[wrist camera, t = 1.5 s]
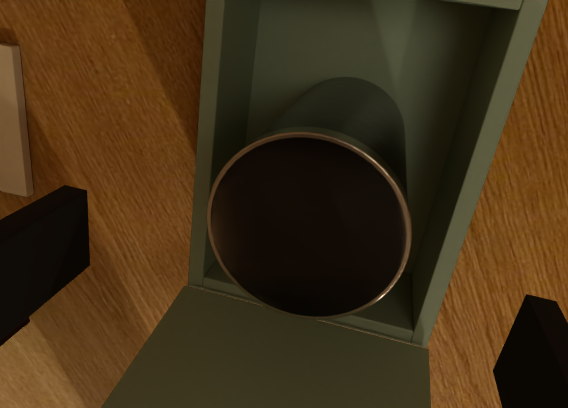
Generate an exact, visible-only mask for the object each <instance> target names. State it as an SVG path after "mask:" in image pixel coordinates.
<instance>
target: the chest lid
mask: <svg viewBox="0 0 568 408" xmlns="http://www.w3.org/2000/svg"><path fill="white" fill-rule="evenodd" d="M101 408H431V397H430V372H429V350H428V349H424V348H421V347H417V346H413V345H409V344H405V343H402V342H398V341H394V340H390V339H386V338H383V337H379V336H375V335H371V334H367V333H363V332H360V331H356V330H352V329H348V328H344V327H341V326H337V325H333V324H329V323H325V322H322V321H318V320H312V319H302V318H297V317H292V316H288V315H285V314H282V313H279V312H276V311H274V310H272V309H269V308H267V307H264V306H261V305H257V304H253V303H249V302H245V301H241V300H238V299H234V298H230V297H226V296H222V295H219V294H215V293H211V292H207V291H203V290H199V289H196V288H192V287H188V286H184V287H183V288H182V290H181V291H180V293H179V294H178V296H177V297H176V299H175V300H174V302H173V303H172V305H171V306H170V308H169V309H168V310H167V312H166V313H165V315H164V316H163V318H162V319H161V321H160V322H159V324H158V325H157V327H156V328H155V330H154V331H153V333H152V334H151V335H150V337H149V338H148V340H147V341H146V343H145V344H144V346H143V347H142V349H141V350H140V352H139V353H138V355H137V356H136V357H135V359H134V360H133V362H132V363H131V365H130V366H129V368H128V369H127V371H126V372H125V374H124V375H123V377H122V378H121V380H120V381H119V382H118V384H117V385H116V387H115V388H114V390H113V391H112V393H111V394H110V396H109V397H108V399H107V400H106V402H105V403H104V404H103V406H102V407H101Z"/></svg>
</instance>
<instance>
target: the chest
mask: <svg viewBox="0 0 568 408" xmlns="http://www.w3.org/2000/svg"><path fill="white" fill-rule="evenodd" d="M547 3H548V0H206V8H205V24H204V40H203V56H202V72H201V88H200V103H199V119H198V135H197V151H196V167H195V183H194V198H193V214H192V230H191V246H190V262H189V278H188V286H191V287H195V288H199V289H202V288H203V290H206V291H210V292H214V293H218V294H222V295H225V296H229V297H233V298H237V299H241V300H245V301H248V302H252V303H256V304H260V303H258V302H256V301H255V300H253V299H252V298H251V297H249V296H248V295H246V294H245V293H244V292H243V291H242V290H241V289H240V288H238V287H237V286H236V285H235V283H234V282H233V281H232V280H231V279H230V278H229V277H228V275H227V274H226V273H225V271H224V270H223V268H222V267H221V265H220V263H219V261H218V260H217V258H216V256H215V253H214V251H213V248H212V246H211V242H210V238H209V235H208V227H207V207H208V200H209V196H210V193H211V190H212V187H213V185H214V182H215V180H216V178H217V176H218V175H219V173H220V172H221V170H222V169H223V167H224V166H225V165H226V164H227V163H228V161H229V160H230V159H231V158H232V157H233V156H234V155H235V154H236V153H237V152H239V151H240V150H241V149H242V148H243V147H245V146H246V145H247V144H248V143H250V142H252V141H253V140H255V139H257V138H258V137H259V136H260V135H261V134H262V133H263V132H264V131H265V130H266V129H267V128H268V127H269V126H270V125H271V124H272V123H273V122H274V121H276V120H277V119H278V118H279V117H280V116H281V115H282V114H283V113H284V112H285V111H286V110H287V109H288V108H289V107H290V106H291V105H292V104H294V103H295V102H296V101H297V100H298V99H299V98H300V97H301V96H302V95H303V94H304V93H305V92H306V91H308V90H309V89H310V88H311V87H313V86H315V85H316V84H318V83H320V82H322V81H325V80H328V79H331V78H337V77H355V78H360V79H364V80H366V81H369V82H371V83H373V84H375V85H377V86H379V87H380V88H381V89H383V90H384V91H385V92H386V93H387V94H388V95H389V96H390V97H391V98H392V99H393V100H394V102H395V103H396V105H397V106H398V108H399V110H400V112H401V115H402V117H403V121H404V126H405V139H406V167H407V195H408V203H409V207H410V212H411V223H412V242H411V249H410V254H409V258H408V261H407V263H406V266H405V269H404V271H403V272H402V274H401V276H400V278H399V279H398V281H397V282H396V283H395V285H394V286H393V287H392V288H391V290H390V291H388V292H387V293H386V294H385V295H384V296H383V297H382V298H381V299H380V300H378V301H377V302H375V303H374V304H373V305H371V306H369V307H367V308H365V309H364V310H362V311H359V312H357V313H354V314H351V315H348V316H344V317H340V318H334V319H326V320H321V321H325V322H329V323H332V324H336V325H340V326H344V327H348V328H351V329H355V330H359V331H363V332H367V333H371V334H374V335H378V336H382V337H386V338H390V339H393V340H397V341H401V342H405V343H410V344H412V345H416V346H420V347H424V348H426V347H427V345H428V342H429V339H430V336H431V333H432V330H433V328H434V325H435V322H436V319H437V316H438V313H439V310H440V308H441V305H442V302H443V299H444V296H445V293H446V290H447V288H448V285H449V282H450V279H451V276H452V273H453V271H454V268H455V265H456V262H457V259H458V256H459V253H460V251H461V248H462V245H463V242H464V239H465V236H466V233H467V231H468V228H469V225H470V222H471V219H472V216H473V214H474V211H475V208H476V205H477V202H478V199H479V196H480V194H481V191H482V188H483V185H484V182H485V179H486V176H487V174H488V171H489V168H490V165H491V162H492V159H493V157H494V154H495V151H496V148H497V145H498V142H499V139H500V137H501V134H502V131H503V128H504V125H505V122H506V119H507V117H508V114H509V111H510V108H511V105H512V102H513V100H514V97H515V94H516V91H517V88H518V85H519V82H520V80H521V77H522V74H523V71H524V68H525V65H526V63H527V60H528V57H529V54H530V51H531V48H532V45H533V43H534V40H535V37H536V34H537V31H538V28H539V25H540V23H541V20H542V17H543V14H544V11H545V8H546V6H547ZM260 305H262V304H260Z"/></svg>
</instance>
